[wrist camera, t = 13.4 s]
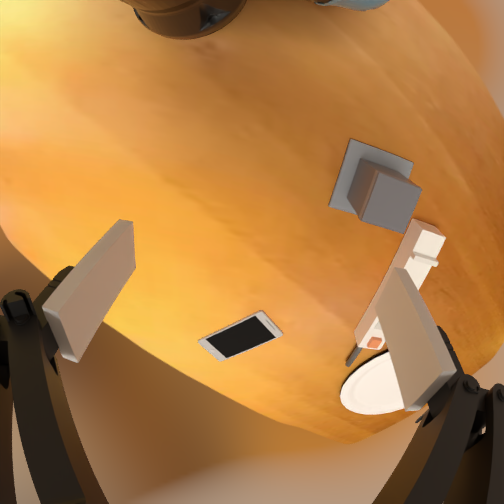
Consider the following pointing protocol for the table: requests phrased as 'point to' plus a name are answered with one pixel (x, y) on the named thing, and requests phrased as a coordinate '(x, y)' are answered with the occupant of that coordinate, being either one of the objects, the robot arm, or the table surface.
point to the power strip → (417, 265)
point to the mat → (350, 166)
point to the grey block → (383, 196)
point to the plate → (373, 388)
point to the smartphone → (241, 336)
